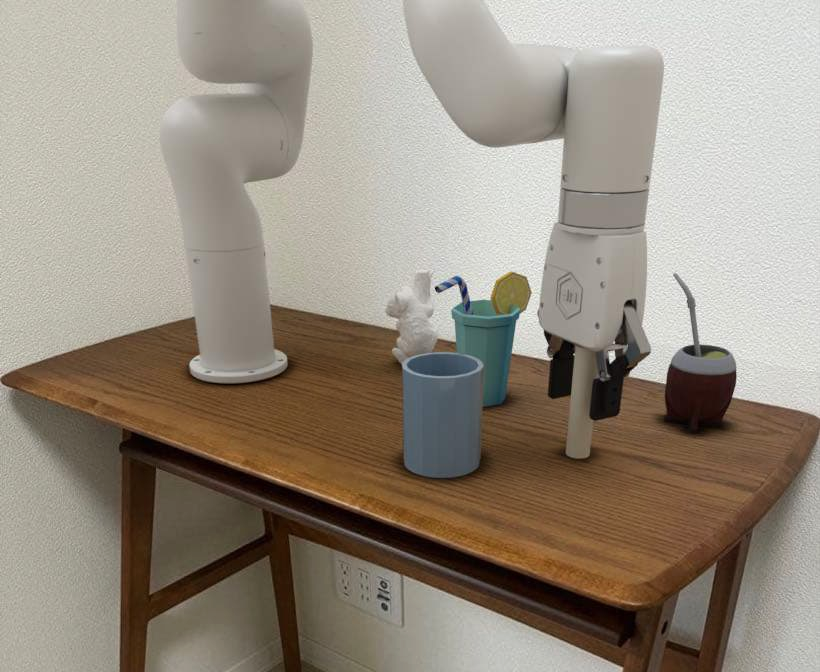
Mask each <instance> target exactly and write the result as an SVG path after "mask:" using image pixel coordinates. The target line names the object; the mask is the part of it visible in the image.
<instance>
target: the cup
mask: <svg viewBox="0 0 820 672" xmlns="http://www.w3.org/2000/svg"><path fill="white" fill-rule="evenodd" d="M529 283H530V282H529V280H528V277H527V276H525V275H523V274H520V273H517V272H514V271H511V270H510V271H509V272H507V273H505V274H503V275H502V276H500V277H499V278H497V279H496V280H495V283H494V285H493V288H492V291H491V295H490V299H478V300H471V298H470V294H469V290H468V285H467V283H466V281H465V280H464V278H463V277H461V276H460V275H458V274H456V275H454V276H453V277H450V278H449V279H447V280H445V281H443V282H441V283H439V284H437V285H435V286H434V291H435V293H437V294H441V293H443V292H444V291H447V290H448V289H450V288H452V287H454V286H456V285H458V288H459V293H460V297H461V300H462V301H461V302H459V303H458V304H457V305H455V306H454V307H452V308H451V312H450V313H451V319H452V320H454V331H455V344H456V345H455V347H456V353H461V354H465V355H470V356H473V357H475V358H477V359H479V360H481V361H482V363H483V365H484V379H483V407H482V408H485V407H492V406H498V405H501V404H502V403H503V402H504V401H505V399H506V395H507V389H508V381H509V376H510V375H509V374H510V367H511V362H512V361H511V360H512V353H513V346H514V339H515V334H516V333H515V332H516V328H517V327H516V325H517V320H519V319H520V315H521V314H522V313H524V312H525V311H526V310H527V307H528V305H529V301H530V299H531V296H532V290H531V287H530V284H529Z"/></svg>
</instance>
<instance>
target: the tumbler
mask: <svg viewBox="0 0 820 672" xmlns="http://www.w3.org/2000/svg"><path fill="white" fill-rule="evenodd" d="M483 379H484V365H483V363H482V361H481V360H479V359H477V358H475V357H473V356H470V355H465V354H461V353H457V352H452V351H451V352H450V351H437V352H435V351H434V352H433V351H432V352H431V353H425V354H419V355H415V356H413V357H410V358H407V359H406V360H405V361H404V362H403V363H402V364H401V407H402V408H401V409H402V411H401V414H402V456H403V465H404V467H405V468H406V469H407V470H408V471H409V472H412V473H413V474H416V475H419V476H422V477H427V478H434V479H452V478H457V477H463V476H466V475H468V474H470V473H473V472H474V471H476V470H477V469H478V468H479V466H480V464H481V455H482V434H483V433H482V432H483V431H482V430H483V429H482V428H483V408H484V407H483Z"/></svg>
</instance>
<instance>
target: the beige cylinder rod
mask: <svg viewBox="0 0 820 672" xmlns="http://www.w3.org/2000/svg"><path fill="white" fill-rule="evenodd" d="M574 355H575V357H574V368H573V379H572V389H571V395H570V402H569V412H568V422H567V423H568V424H567V434H566V445H565V455H566V456H567V457H569V458H571V459H581V460H582V459H586V458H589V457H590V454H591V446H592V436H593V428H594V420H592V419H590V416H589V412H590V403H591V393H592V384H593V379H597V378H599V376H598V369H597V362H596V354H595V351H591V350H588V349H585V348H583V347H580V346H578V345H576V346H575V354H574Z"/></svg>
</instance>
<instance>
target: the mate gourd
mask: <svg viewBox="0 0 820 672" xmlns="http://www.w3.org/2000/svg"><path fill="white" fill-rule="evenodd" d="M672 276H673V278H674V279H675V280H676V282H677V283H678V285H679V286H680V288H681V289H682V290H683V292H684V295H685V296H686V299H687V300H686V305H687V309H688V311H689V317H690V326H691V333H692V334H691V335H692V340H693V344H689V345H685V346H682V347H681V348H679V350H677V351H676V353H674V355H673V356H672V358H671V360H670V363H669V366H668V368H667V372H666V381H665V386H664V387H665V388H664V402H665V408H666V414H664V415H663V421H664V422H666V423H667V422H668V423H677V424H686V425H688V433H689V434H693V435H694V434H695V435H696V434H697V433H698V428H699V426H706V427H707V426H708V427H717V428H723V427H724V425H725V421H724V420H723V418H724V417H725V415H726V414H727V411H728V409H729V407H730V405H731V403H732V400H733V396H734V394H735V389H736V385H737V362H736V359H735V356H734V355H733V354H732V352H731V351H730V350H728V349H727V348H724V347H721V346H717V345H712V344H700V339H699V338H700V337H699V329H698V323H697V315H696V306H697V305H696V304H697V303H696V299H695V297H693V294H692V292H691V289H690V288H689V287H688V285H687V284H686V282H685V281H683V279H682V278H681V277H680V275H679V274H677V272H674V273H673V275H672Z"/></svg>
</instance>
